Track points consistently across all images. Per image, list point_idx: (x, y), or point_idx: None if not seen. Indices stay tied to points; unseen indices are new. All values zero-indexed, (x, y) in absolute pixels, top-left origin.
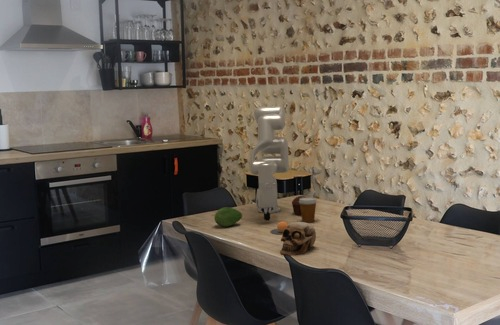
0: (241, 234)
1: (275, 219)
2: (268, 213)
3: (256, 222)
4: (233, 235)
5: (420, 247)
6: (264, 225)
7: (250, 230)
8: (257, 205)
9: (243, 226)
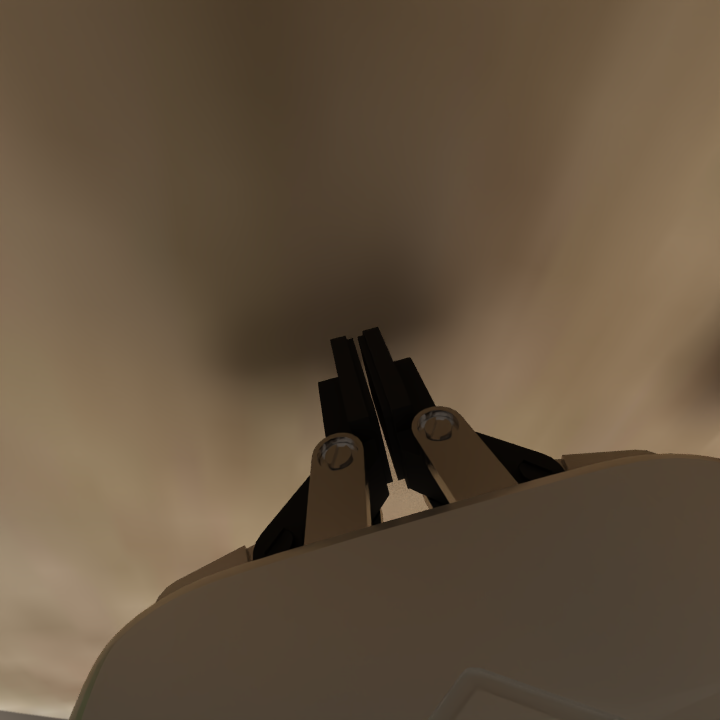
0: (100, 642)
1: (548, 109)
2: (408, 485)
3: (184, 267)
4: (35, 661)
5: None
6: (305, 438)
7: (159, 571)
8: (124, 645)
9: (17, 457)
